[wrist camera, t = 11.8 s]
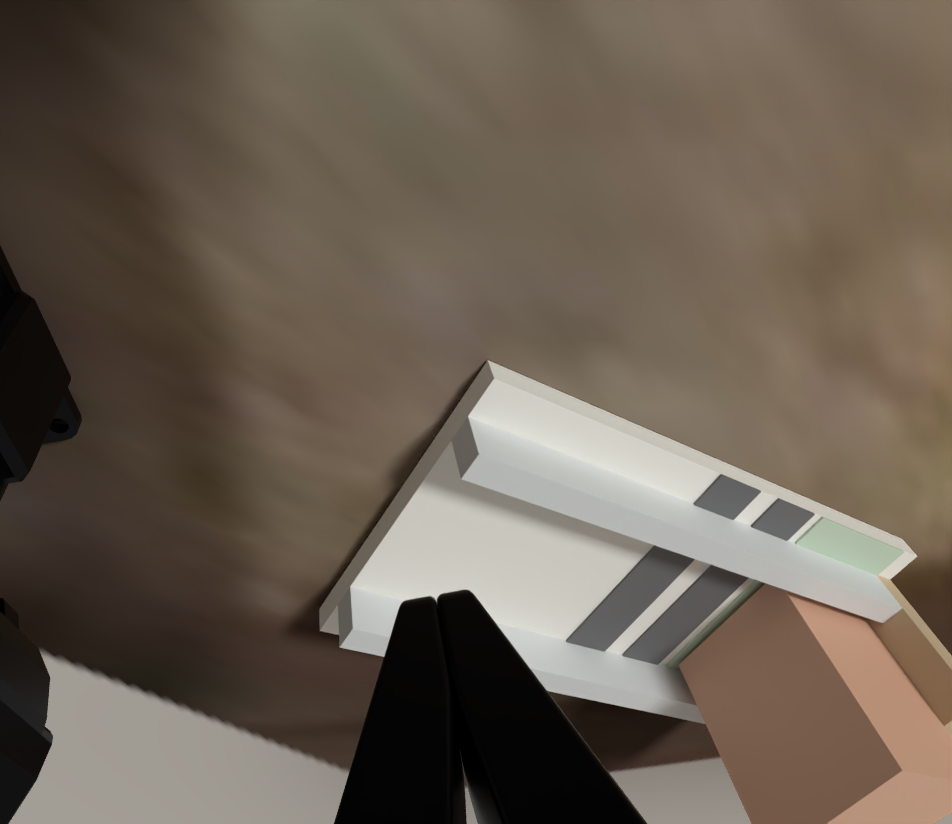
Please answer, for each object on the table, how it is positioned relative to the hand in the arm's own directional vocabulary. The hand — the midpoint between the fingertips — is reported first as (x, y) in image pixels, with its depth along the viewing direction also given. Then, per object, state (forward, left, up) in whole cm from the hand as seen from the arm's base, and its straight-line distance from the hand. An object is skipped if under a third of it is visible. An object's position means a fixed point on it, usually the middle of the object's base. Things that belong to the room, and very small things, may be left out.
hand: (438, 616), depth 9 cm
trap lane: (+8, -16, -13) cm, 22 cm away
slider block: (+14, -20, -12) cm, 27 cm away
